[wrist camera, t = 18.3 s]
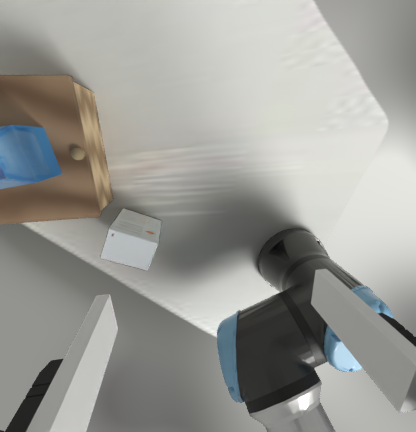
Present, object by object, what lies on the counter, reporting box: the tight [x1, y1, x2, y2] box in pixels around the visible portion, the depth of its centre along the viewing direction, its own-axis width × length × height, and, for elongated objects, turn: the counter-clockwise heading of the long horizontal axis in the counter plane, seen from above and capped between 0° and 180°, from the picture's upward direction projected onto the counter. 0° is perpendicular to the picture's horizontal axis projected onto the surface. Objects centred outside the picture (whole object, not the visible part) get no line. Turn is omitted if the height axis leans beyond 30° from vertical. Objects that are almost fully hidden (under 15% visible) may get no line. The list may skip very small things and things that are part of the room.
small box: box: [100, 208, 162, 271], centre depth 40 cm, size 8×6×10 cm
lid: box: [0, 75, 101, 224], centre depth 30 cm, size 19×14×2 cm
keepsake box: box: [73, 82, 113, 211], centre depth 35 cm, size 18×14×8 cm
